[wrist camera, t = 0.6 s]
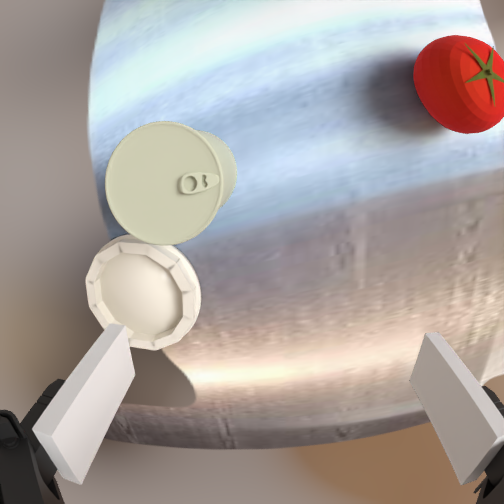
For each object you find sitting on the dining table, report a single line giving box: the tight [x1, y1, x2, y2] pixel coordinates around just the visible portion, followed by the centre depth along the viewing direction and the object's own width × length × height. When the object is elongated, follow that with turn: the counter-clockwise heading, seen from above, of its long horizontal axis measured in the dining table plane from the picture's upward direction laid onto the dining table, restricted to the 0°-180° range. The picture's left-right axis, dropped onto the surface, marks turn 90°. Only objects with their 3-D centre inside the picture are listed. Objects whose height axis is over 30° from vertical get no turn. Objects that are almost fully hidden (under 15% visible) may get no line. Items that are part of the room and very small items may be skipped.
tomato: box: [413, 35, 504, 134], centre depth 24 cm, size 10×11×11 cm
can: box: [105, 121, 237, 246], centre depth 27 cm, size 9×9×12 cm
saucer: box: [85, 234, 202, 350], centre depth 36 cm, size 14×14×2 cm
